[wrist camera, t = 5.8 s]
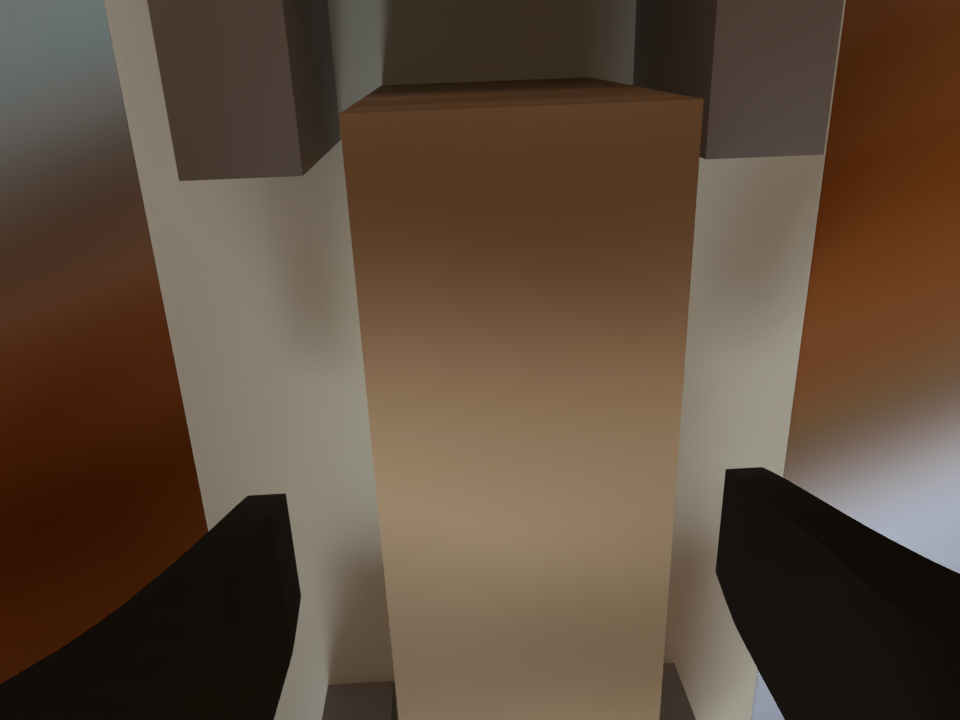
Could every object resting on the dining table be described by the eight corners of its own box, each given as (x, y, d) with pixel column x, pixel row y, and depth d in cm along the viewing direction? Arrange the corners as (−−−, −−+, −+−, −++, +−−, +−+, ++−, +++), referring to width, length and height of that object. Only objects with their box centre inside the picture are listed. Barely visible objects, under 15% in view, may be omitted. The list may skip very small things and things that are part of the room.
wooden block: (578, 706, 18) (639, 994, 13) (430, 716, 18) (427, 1011, 13) (589, 77, 13) (703, 98, 7) (381, 84, 13) (338, 113, 7)
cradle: (725, 775, 21) (808, 983, 16) (277, 805, 20) (229, 1028, 16) (843, -207, 12) (1082, -357, 8) (91, -188, 12) (-124, -335, 7)
